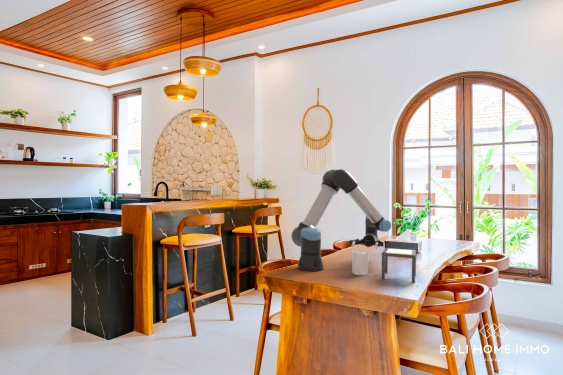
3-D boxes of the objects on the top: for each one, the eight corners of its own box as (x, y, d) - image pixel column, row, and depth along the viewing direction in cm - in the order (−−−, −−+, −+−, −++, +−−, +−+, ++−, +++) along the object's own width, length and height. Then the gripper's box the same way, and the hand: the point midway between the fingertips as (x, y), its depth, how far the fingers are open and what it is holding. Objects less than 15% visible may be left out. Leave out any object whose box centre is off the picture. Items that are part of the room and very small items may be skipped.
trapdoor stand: (381, 279, 203) (381, 252, 203) (384, 272, 219) (385, 247, 219) (414, 282, 197) (415, 255, 197) (415, 275, 214) (416, 249, 214)
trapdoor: (385, 254, 204) (385, 252, 204) (388, 250, 217) (388, 248, 217) (411, 256, 199) (411, 254, 199) (412, 252, 212) (412, 250, 212)
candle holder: (369, 276, 210) (369, 254, 210) (350, 275, 212) (351, 253, 212) (368, 272, 220) (369, 251, 219) (351, 271, 221) (351, 250, 221)
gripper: (389, 247, 241) (386, 253, 221) (349, 245, 249) (343, 250, 229) (389, 235, 240) (386, 240, 221) (349, 233, 249) (343, 238, 229)
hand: (364, 245), depth 225 cm, fingers open, 13 cm apart
